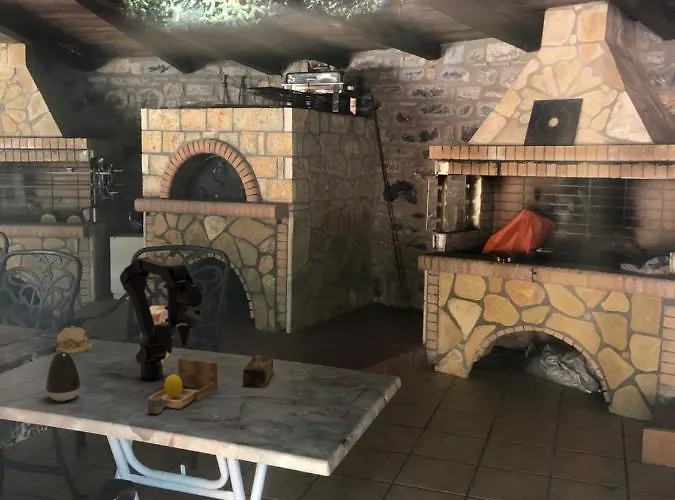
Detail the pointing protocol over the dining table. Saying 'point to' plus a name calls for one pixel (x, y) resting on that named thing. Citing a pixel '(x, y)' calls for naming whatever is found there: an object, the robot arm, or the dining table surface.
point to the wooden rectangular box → (257, 371)
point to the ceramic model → (73, 340)
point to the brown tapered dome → (63, 377)
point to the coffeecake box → (159, 318)
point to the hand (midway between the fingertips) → (177, 349)
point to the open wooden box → (198, 376)
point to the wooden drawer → (169, 400)
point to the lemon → (173, 386)
